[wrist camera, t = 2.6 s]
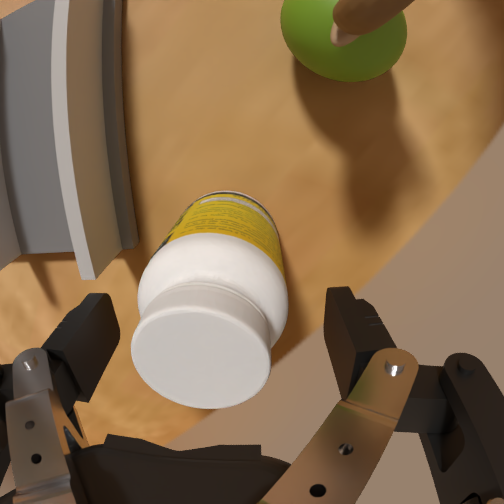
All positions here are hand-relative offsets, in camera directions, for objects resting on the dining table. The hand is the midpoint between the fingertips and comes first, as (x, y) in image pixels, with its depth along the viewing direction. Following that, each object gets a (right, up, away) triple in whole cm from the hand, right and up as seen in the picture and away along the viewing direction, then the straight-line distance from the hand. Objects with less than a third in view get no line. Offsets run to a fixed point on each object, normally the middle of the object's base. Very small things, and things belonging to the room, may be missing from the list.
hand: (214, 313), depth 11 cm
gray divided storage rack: (-14, +10, +3) cm, 18 cm away
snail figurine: (+5, +13, +2) cm, 15 cm away
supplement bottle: (0, +3, +6) cm, 7 cm away
